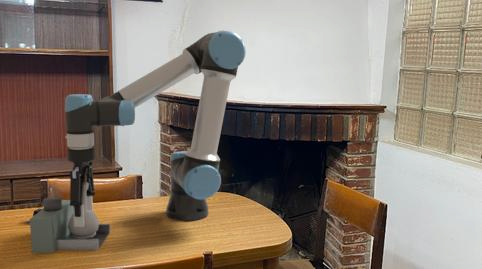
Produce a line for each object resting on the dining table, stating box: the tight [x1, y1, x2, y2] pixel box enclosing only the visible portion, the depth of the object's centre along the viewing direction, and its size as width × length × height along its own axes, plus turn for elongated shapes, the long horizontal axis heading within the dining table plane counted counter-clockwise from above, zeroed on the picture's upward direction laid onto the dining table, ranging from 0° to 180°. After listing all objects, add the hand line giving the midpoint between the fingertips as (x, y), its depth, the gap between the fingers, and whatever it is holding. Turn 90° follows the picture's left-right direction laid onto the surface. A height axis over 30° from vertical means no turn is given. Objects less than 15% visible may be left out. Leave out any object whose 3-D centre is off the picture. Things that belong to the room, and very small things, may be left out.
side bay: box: [55, 222, 111, 251], centre depth 136 cm, size 12×14×3 cm
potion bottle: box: [68, 177, 100, 239], centre depth 135 cm, size 9×9×18 cm
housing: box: [29, 196, 74, 254], centre depth 135 cm, size 6×18×13 cm, turn 2°
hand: (84, 221), depth 136 cm, fingers closed on potion bottle, 8 cm apart
